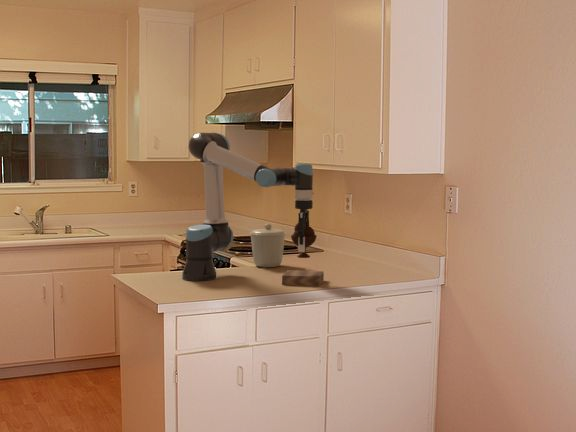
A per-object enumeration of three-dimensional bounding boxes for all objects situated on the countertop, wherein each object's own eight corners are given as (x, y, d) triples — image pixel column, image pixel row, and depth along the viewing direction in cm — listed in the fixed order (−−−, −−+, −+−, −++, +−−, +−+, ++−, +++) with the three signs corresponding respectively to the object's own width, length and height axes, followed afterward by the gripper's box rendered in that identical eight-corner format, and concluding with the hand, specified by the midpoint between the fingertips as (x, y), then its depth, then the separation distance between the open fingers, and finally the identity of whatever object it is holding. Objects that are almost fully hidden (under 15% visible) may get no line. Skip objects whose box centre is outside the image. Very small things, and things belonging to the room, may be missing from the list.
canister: (264, 270, 367) (264, 226, 365) (242, 265, 381) (242, 223, 379) (293, 266, 378) (293, 223, 376) (270, 262, 392) (271, 220, 390)
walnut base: (282, 284, 330) (282, 275, 329) (287, 279, 343) (287, 270, 343) (319, 286, 327) (319, 276, 327) (323, 280, 341) (323, 271, 340)
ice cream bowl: (295, 259, 327) (295, 224, 326) (288, 255, 338) (288, 221, 337) (319, 258, 330) (319, 223, 329) (311, 254, 341) (311, 221, 339)
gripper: (308, 201, 320) (308, 254, 322) (316, 197, 343) (315, 246, 345) (290, 201, 321) (290, 253, 323) (299, 197, 344) (299, 246, 346)
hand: (303, 250), depth 334 cm, fingers closed on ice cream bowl, 11 cm apart
